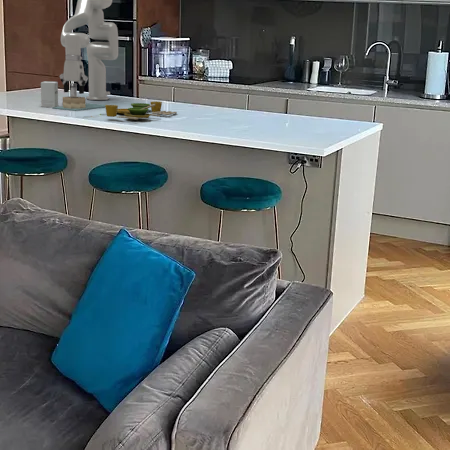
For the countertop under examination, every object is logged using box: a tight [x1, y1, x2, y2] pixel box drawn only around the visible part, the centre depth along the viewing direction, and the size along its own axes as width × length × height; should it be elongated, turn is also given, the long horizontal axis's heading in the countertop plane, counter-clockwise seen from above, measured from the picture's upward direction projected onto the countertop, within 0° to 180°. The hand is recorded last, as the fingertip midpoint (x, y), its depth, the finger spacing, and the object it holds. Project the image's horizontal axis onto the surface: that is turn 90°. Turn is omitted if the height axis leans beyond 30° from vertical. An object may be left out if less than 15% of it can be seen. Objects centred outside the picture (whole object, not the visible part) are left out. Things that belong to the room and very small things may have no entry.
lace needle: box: [69, 82, 78, 98], centre depth 374 cm, size 3×3×12 cm
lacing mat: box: [51, 102, 106, 112], centre depth 382 cm, size 30×15×1 cm, turn 153°
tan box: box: [62, 96, 87, 109], centre depth 375 cm, size 11×11×5 cm
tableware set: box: [104, 100, 178, 120], centre depth 365 cm, size 41×28×6 cm
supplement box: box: [40, 81, 59, 108], centre depth 380 cm, size 7×7×13 cm
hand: (73, 92), depth 374 cm, fingers open, 9 cm apart
